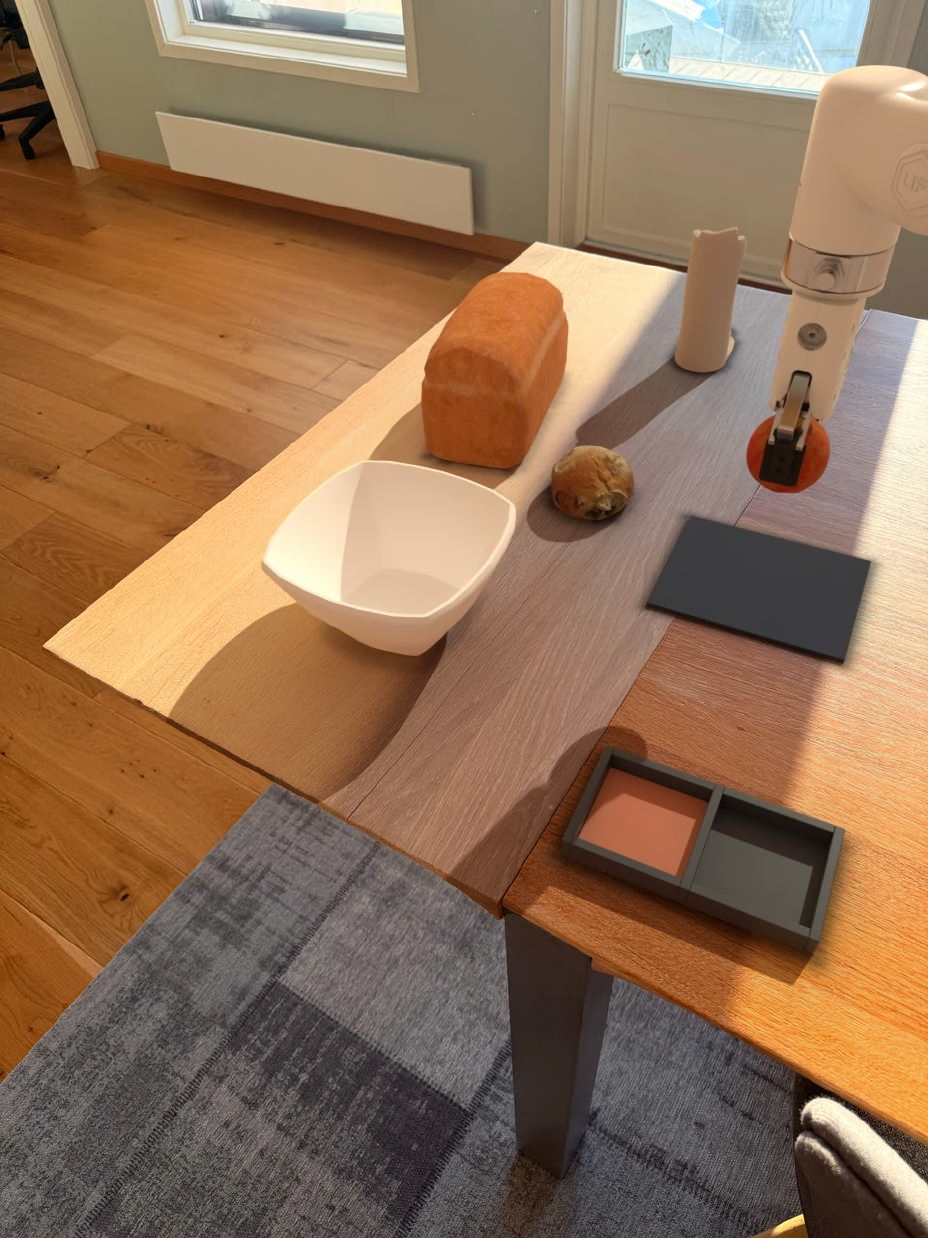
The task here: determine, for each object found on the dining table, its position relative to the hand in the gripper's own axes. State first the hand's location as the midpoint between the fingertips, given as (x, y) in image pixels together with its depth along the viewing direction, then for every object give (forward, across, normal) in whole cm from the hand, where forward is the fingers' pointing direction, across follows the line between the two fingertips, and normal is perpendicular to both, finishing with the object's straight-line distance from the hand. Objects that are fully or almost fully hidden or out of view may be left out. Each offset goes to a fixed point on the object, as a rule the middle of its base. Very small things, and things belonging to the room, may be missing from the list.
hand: (787, 456), depth 80 cm
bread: (+20, +25, +40) cm, 51 cm away
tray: (+20, -29, -3) cm, 35 cm away
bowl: (+20, -15, +33) cm, 41 cm away
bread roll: (+20, +12, +22) cm, 32 cm away
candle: (+20, +52, +19) cm, 59 cm away
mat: (+20, +5, 0) cm, 20 cm away
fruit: (+3, 0, 0) cm, 3 cm away
